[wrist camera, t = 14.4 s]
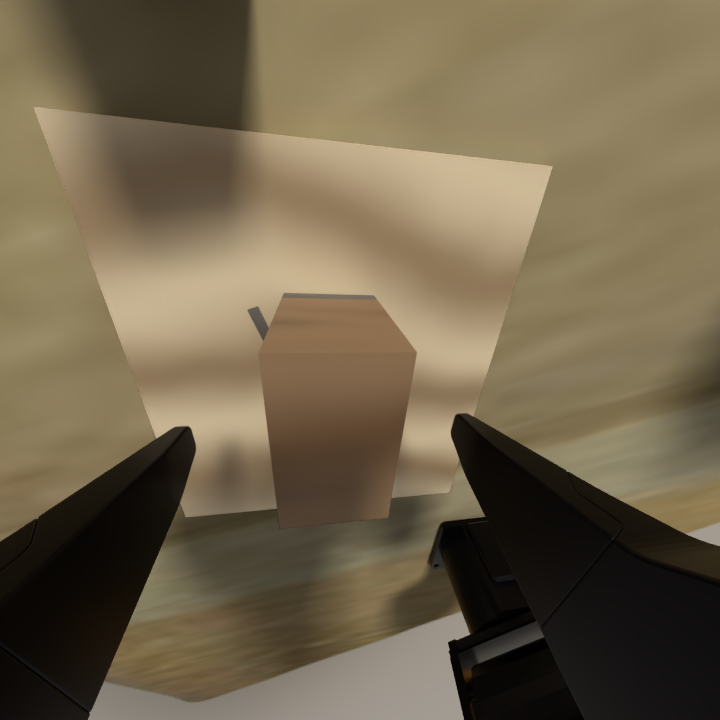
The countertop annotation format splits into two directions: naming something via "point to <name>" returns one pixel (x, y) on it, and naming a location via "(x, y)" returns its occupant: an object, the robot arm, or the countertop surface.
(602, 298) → the countertop surface
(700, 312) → the countertop surface
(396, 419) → the block
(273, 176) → the birch board
